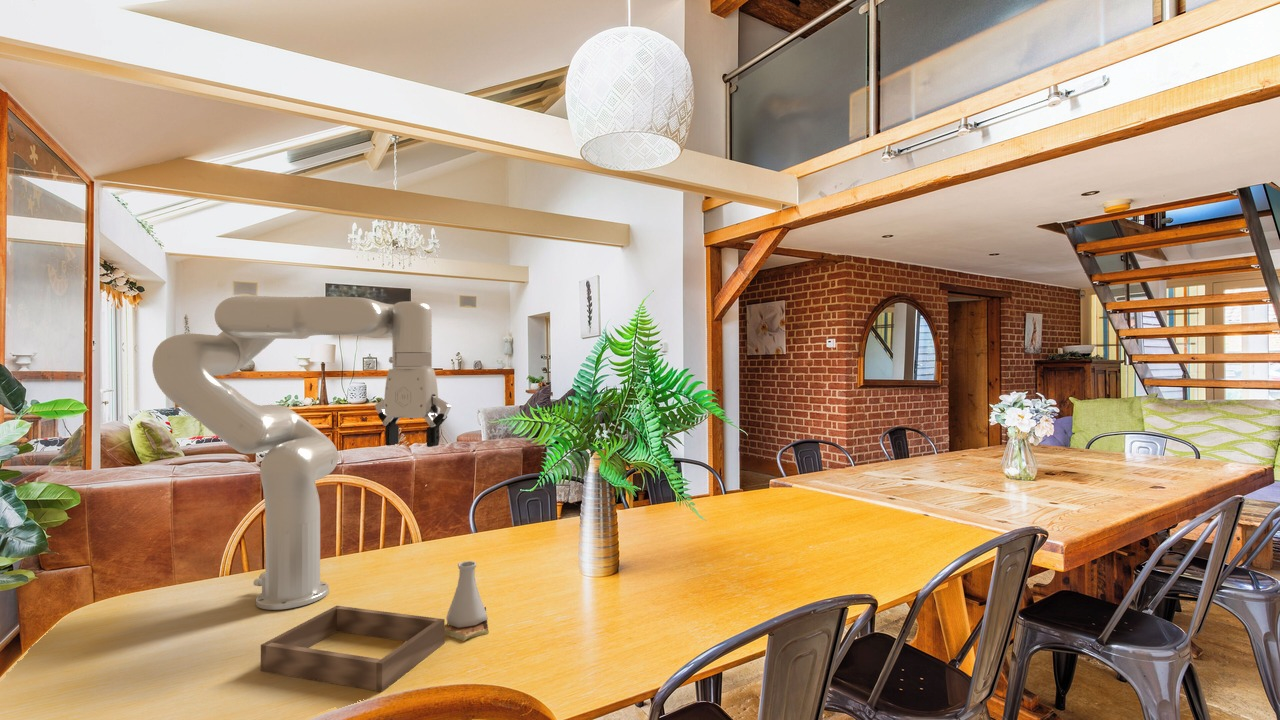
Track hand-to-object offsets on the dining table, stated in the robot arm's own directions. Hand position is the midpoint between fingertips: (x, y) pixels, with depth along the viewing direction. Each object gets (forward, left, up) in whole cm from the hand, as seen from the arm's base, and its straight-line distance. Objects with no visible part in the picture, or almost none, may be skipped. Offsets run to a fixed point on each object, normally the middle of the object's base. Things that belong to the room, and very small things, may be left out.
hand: (412, 445), depth 119 cm
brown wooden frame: (+8, -24, -30) cm, 40 cm away
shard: (+19, -11, -31) cm, 38 cm away
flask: (+19, -10, -30) cm, 36 cm away
